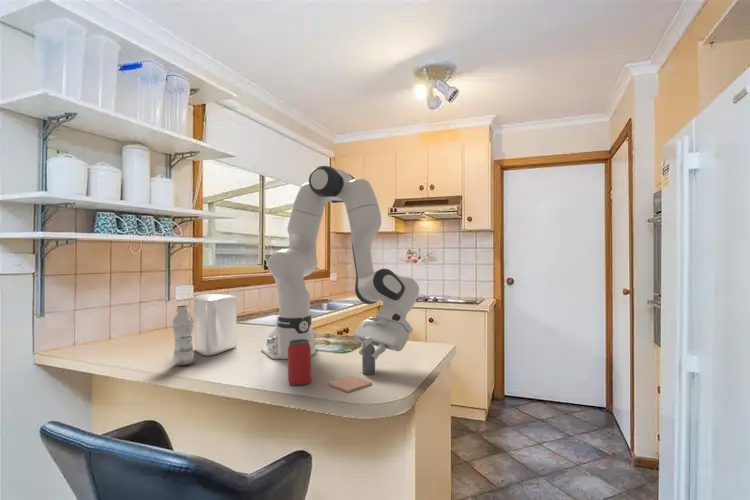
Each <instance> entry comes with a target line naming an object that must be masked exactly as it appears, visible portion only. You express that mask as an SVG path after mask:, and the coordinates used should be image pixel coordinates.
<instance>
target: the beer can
mask: <svg viewBox="0 0 750 500" xmlns="http://www.w3.org/2000/svg"><path fill="white" fill-rule="evenodd" d="M289 343H290V344H289V347H288V359H287V374H288V375H287V380H288V383H289V384H290V385H292V386H304V385H307V384H309V383H310V382H311V381H312V355H311V348H310V345H309V341H308V340H305V339H297V340H292V341H290V342H289Z"/></svg>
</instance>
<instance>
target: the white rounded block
mask: <svg viewBox="0 0 750 500" xmlns="http://www.w3.org/2000/svg"><path fill="white" fill-rule="evenodd" d="M193 303H194V340H195V341H194V344H195V346H194V349H195V350H194V351H196V352H197V353H198V354H201V355H203V356H208V357H209V356H213V355H217V354H221V353H224V352H226V351H229V350H231V349H234V348H236V347H237V346H238V338H237V335H238V333H237V330H238V329H237V326H238V325H237V296H236V295H230V294H224V293H223V294H222V293H220V294H219V293H204V294H200V295H196V296H195V297H194V302H193Z"/></svg>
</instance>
